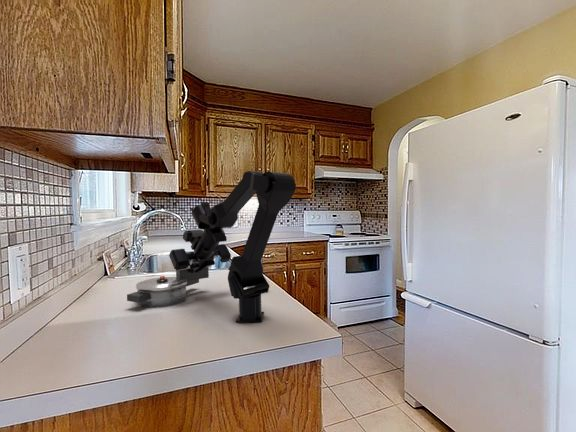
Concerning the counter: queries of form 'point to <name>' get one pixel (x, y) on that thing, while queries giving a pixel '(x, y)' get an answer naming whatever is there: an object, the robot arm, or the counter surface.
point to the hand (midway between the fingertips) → (193, 271)
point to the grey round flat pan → (160, 296)
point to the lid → (172, 280)
